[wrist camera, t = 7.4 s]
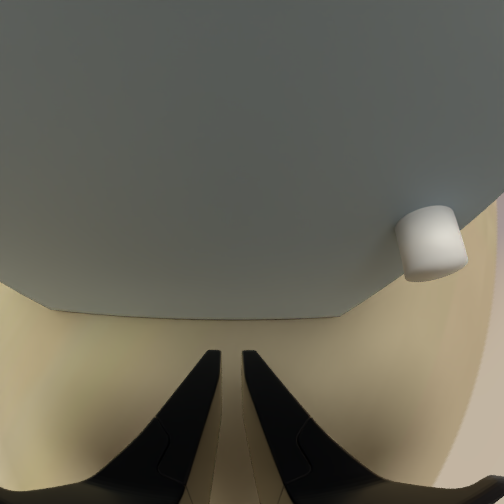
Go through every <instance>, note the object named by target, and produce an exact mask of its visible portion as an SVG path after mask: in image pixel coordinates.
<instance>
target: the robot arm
mask: <svg viewBox="0 0 504 504" xmlns="http://www.w3.org/2000/svg"><path fill="white" fill-rule="evenodd" d="M241 376H242V408H243V419H244V426H245V431H246V436H247V442H248V447H249V452H250V457H251V462H252V467H253V472H254V477H255V482H256V487H257V491H258V496H259V501H260V504H494V503H495V502H496V501H498V500H499V499H500V498H502V497H503V496H504V477H502V476H496V475H489V476H487V477H485V478H483V479H481V480H480V481H478V482H477V483H475V484H473V485H470V486H467V487H463V488H457V489H445V488H435V487H426V486H419V485H412V484H406V483H400V482H394V481H390V480H387V479H384V478H382V477H380V476H378V475H376V474H375V473H373V472H372V471H370V470H369V469H368V468H367V467H365V466H364V465H363V464H361V463H360V462H359V461H358V460H356V459H355V458H354V457H353V456H351V455H350V454H349V453H348V452H347V451H345V450H344V449H343V448H342V447H341V446H339V445H338V444H337V443H336V442H335V441H334V440H333V439H331V438H330V437H329V436H328V435H327V434H326V433H325V432H324V431H323V430H322V428H321V427H320V426H319V425H318V424H317V423H316V422H315V421H314V420H313V418H310V415H309V414H308V413H307V412H306V411H305V409H304V408H303V407H302V406H301V405H300V404H299V402H298V401H297V400H296V399H295V398H294V397H293V395H292V394H291V393H290V392H289V391H288V389H287V388H286V387H285V386H284V385H283V383H282V382H281V381H280V380H279V379H278V377H277V376H276V375H275V374H274V373H273V371H272V370H271V369H270V368H269V367H268V365H267V364H266V363H265V362H264V360H263V359H262V358H261V357H260V355H259V354H258V353H257V352H256V351H255V350H244V351H242V369H241ZM221 416H222V357H221V351H220V350H208V351H207V352H206V353H205V354H204V356H203V357H202V358H201V359H200V361H199V362H198V363H197V364H196V366H195V367H194V368H193V370H192V371H191V372H190V373H189V375H188V376H187V377H186V378H185V380H184V381H183V382H182V383H181V385H180V386H179V387H178V388H177V390H176V391H175V392H174V393H173V395H172V396H171V397H170V398H169V400H168V401H167V402H166V403H165V405H164V406H163V407H162V408H161V410H160V411H159V412H158V413H157V414H156V417H154V418H153V419H152V420H151V422H150V423H149V424H148V425H147V426H146V428H145V429H144V430H143V431H142V432H141V433H140V434H139V435H138V437H137V438H135V439H134V440H133V441H132V442H131V443H130V444H129V445H128V446H127V447H126V448H125V449H124V450H123V451H122V452H120V453H119V454H118V455H117V456H116V457H115V458H114V459H113V460H111V461H110V462H109V463H108V464H107V465H106V466H105V467H103V468H102V469H101V470H100V471H99V472H97V473H96V474H95V475H93V476H92V477H90V478H88V479H86V480H84V481H81V482H78V483H73V484H68V485H63V486H58V487H52V488H46V489H39V490H31V491H11V490H7V489H3V488H1V487H0V504H209V502H210V495H211V487H212V480H213V473H214V466H215V459H216V452H217V445H218V438H219V432H220V425H221Z"/></svg>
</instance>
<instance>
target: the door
mask: <svg viewBox="0 0 504 504" xmlns="http://www.w3.org/2000/svg"><path fill="white" fill-rule="evenodd" d="M503 192H504V0H0V282H1V283H3V284H5V285H6V286H8V287H10V288H12V289H13V290H15V291H17V292H19V293H20V294H22V295H24V296H26V297H28V298H30V299H31V300H33V301H35V302H37V303H39V304H41V305H43V306H45V307H47V308H49V309H51V310H60V311H69V312H80V313H91V314H103V315H117V316H133V317H152V318H177V319H294V318H319V317H338V316H341V315H343V314H344V313H346V312H348V311H349V310H351V309H352V308H354V307H355V306H357V305H359V304H360V303H362V302H363V301H365V300H366V299H368V298H369V297H371V296H372V295H374V294H375V293H377V292H378V291H380V290H381V289H383V288H384V287H386V286H387V285H388V284H390V283H391V282H393V281H394V280H396V279H397V278H398V277H400V276H401V275H403V274H404V275H405V279H406V280H407V281H410V282H424V281H430V280H435V279H439V278H442V277H445V276H448V275H450V274H452V273H455V272H457V271H458V270H460V269H462V268H463V267H464V266H465V265H466V264H467V263H468V257H467V254H466V250H465V246H464V243H463V240H462V236H461V233H460V230H461V229H462V228H464V227H465V226H466V225H467V224H468V223H470V222H471V221H472V220H473V219H474V218H476V217H477V216H478V215H479V214H480V213H481V212H482V211H484V210H485V209H486V208H487V207H488V206H489V205H490V204H491V203H493V202H494V201H495V200H496V199H497V198H498V197H499V196H500V195H501V194H502V193H503Z"/></svg>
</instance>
